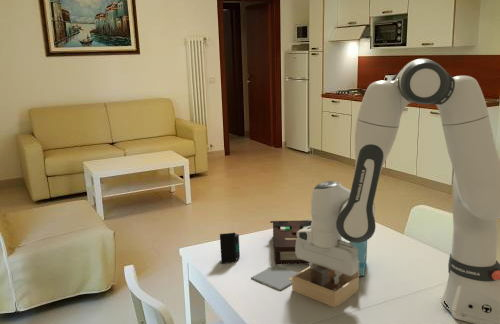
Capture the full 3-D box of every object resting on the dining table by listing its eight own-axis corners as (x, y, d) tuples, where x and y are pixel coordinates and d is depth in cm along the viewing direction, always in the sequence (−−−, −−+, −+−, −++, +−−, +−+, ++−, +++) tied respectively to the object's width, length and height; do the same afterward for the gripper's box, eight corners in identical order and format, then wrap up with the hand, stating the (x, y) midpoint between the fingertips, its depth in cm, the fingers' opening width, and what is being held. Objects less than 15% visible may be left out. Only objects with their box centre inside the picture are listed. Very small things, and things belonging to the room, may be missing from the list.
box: (339, 287, 141) (339, 262, 139) (322, 298, 134) (322, 273, 132) (327, 282, 143) (328, 258, 142) (310, 293, 137) (311, 269, 135)
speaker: (237, 264, 157) (235, 234, 156) (221, 264, 158) (219, 234, 157) (241, 256, 165) (240, 228, 163) (226, 256, 166) (224, 228, 164)
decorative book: (271, 247, 153) (269, 216, 182) (271, 268, 155) (269, 234, 184) (330, 246, 152) (318, 216, 182) (329, 268, 154) (318, 234, 183)
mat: (304, 276, 148) (304, 275, 147) (280, 290, 139) (280, 289, 139) (275, 265, 156) (275, 264, 156) (251, 278, 147) (251, 277, 147)
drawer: (358, 290, 138) (359, 261, 136) (330, 311, 127) (330, 279, 125) (316, 275, 148) (316, 247, 146) (287, 293, 138) (286, 263, 136)
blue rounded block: (363, 277, 146) (364, 242, 143) (348, 276, 147) (349, 241, 145) (366, 261, 157) (367, 228, 154) (352, 260, 158) (353, 227, 156)
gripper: (363, 241, 130) (361, 286, 133) (304, 225, 144) (304, 266, 147) (351, 248, 126) (350, 294, 129) (292, 231, 139) (292, 273, 142)
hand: (325, 279), depth 138 cm, fingers open, 5 cm apart
